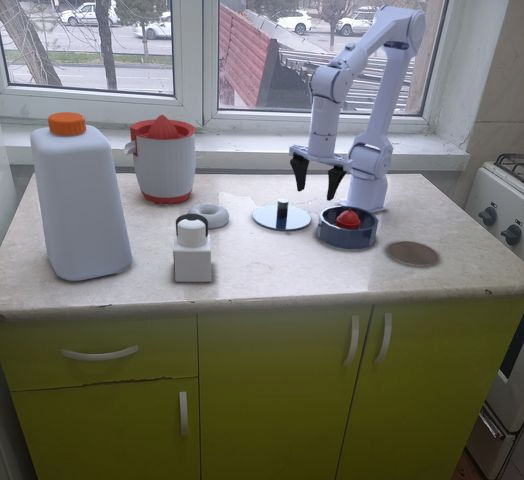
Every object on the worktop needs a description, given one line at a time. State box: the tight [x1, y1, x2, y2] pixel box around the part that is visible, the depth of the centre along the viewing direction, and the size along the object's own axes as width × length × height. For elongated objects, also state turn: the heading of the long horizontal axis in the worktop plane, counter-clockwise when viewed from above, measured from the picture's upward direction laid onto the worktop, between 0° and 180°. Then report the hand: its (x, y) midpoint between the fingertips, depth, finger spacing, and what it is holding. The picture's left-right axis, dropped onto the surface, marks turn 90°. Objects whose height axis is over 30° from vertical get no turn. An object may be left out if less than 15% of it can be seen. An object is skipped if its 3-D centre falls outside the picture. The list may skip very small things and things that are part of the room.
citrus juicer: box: [123, 114, 197, 205], centre depth 126 cm, size 16×17×20 cm
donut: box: [186, 202, 230, 230], centre depth 121 cm, size 10×4×10 cm
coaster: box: [387, 240, 438, 266], centre depth 116 cm, size 11×11×1 cm
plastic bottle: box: [29, 111, 133, 282], centre depth 96 cm, size 15×15×28 cm
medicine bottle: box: [172, 213, 212, 283], centre depth 100 cm, size 7×7×12 cm
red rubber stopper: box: [335, 208, 360, 230], centre depth 118 cm, size 5×5×7 cm
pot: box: [316, 205, 379, 250], centre depth 119 cm, size 13×13×5 cm
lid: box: [252, 198, 312, 232], centre depth 124 cm, size 14×14×5 cm
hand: (315, 194), depth 115 cm, fingers open, 7 cm apart
